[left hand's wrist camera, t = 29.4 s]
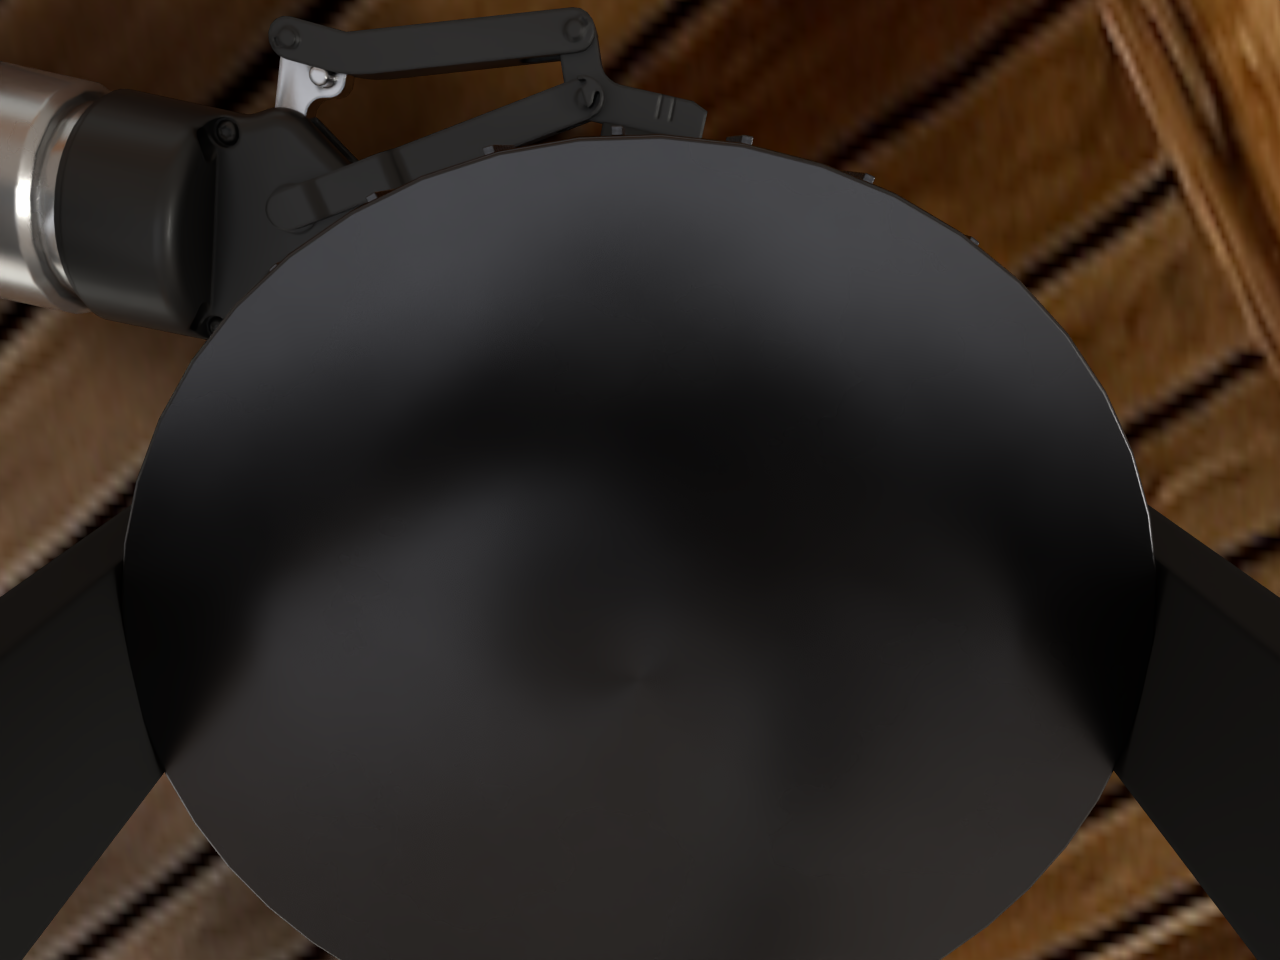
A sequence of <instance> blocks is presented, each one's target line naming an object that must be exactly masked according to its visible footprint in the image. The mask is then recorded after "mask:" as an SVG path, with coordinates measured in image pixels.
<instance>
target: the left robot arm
mask: <svg viewBox="0 0 1280 960" xmlns="http://www.w3.org/2000/svg"><path fill="white" fill-rule="evenodd" d="M1147 505H1148V504H1147ZM131 506H132V505H130V506H129V507H128V508H126V509H125V510H123V511H122V512H120V513H119V514H118V515H116V516H115V517H113V518H112V519H110V520H109V521H108V522H106V523H105V524H103V525H102V526H101V527H99V528H98V529H96V530H95V531H93V532H92V533H91V534H89V535H88V536H86V537H85V538H84V539H82V540H81V541H79V542H78V543H76V544H75V545H74V546H72V547H71V548H69V549H68V550H67V551H65V552H64V553H62V554H61V555H59V556H58V557H57V558H55V559H54V560H52V561H51V562H50V563H48V564H47V565H45V566H44V567H42V568H41V569H40V570H38V571H37V572H35V573H34V574H33V575H31V576H30V577H28V578H27V579H25V580H24V581H23V582H21V583H20V584H18V585H17V586H16V587H14V588H13V589H11V590H10V591H8V592H7V593H6V594H4V595H3V596H1V597H0V960H22V959H23V958H24V956H25V955H26V954H27V952H28V951H29V950H30V949H31V947H32V946H33V945H34V943H35V942H36V941H37V939H38V938H39V937H40V935H41V934H42V933H43V931H44V930H45V929H46V927H47V926H48V925H49V923H50V922H51V921H52V920H53V918H54V917H55V916H56V914H57V913H58V912H59V910H60V909H61V908H62V906H63V905H64V904H65V902H66V901H67V900H68V898H69V897H70V896H71V895H72V893H73V892H74V891H75V889H76V888H77V887H78V885H79V884H80V883H81V881H82V880H83V879H84V877H85V876H86V875H87V873H88V872H89V871H90V869H91V868H92V867H93V866H94V864H95V863H96V862H97V860H98V859H99V858H100V856H101V855H102V854H103V852H104V851H105V850H106V848H107V847H108V846H109V844H110V843H111V842H112V840H113V839H114V838H115V837H116V835H117V834H118V833H119V831H120V830H121V829H122V827H123V826H124V825H125V823H126V822H127V821H128V819H129V818H130V817H131V815H132V814H133V813H134V812H135V810H136V809H137V808H138V806H139V805H140V804H141V802H142V801H143V800H144V798H145V797H146V796H147V794H148V793H149V792H150V790H151V789H152V788H153V786H154V785H155V784H156V783H157V781H158V780H159V779H160V777H161V776H162V775H163V773H164V772H165V771H164V769H163V767H162V764H161V762H160V759H159V757H158V755H157V752H156V750H155V747H154V745H153V743H152V740H151V738H150V736H149V733H148V731H147V728H146V726H145V724H144V721H143V717H142V713H141V709H140V704H139V700H138V696H137V692H136V688H135V683H134V679H133V675H132V671H131V666H130V662H129V657H128V652H127V647H126V639H125V630H124V621H123V612H122V583H123V558H124V541H125V536H126V531H127V526H128V521H129V516H130V511H131ZM1148 509H1149V513H1150V519H1151V528H1152V537H1153V546H1154V555H1155V564H1156V573H1157V585H1156V610H1155V634H1154V641H1153V646H1152V651H1151V655H1150V660H1149V664H1148V669H1147V674H1146V678H1145V683H1144V687H1143V692H1142V696H1141V700H1140V704H1139V708H1138V711H1137V714H1136V717H1135V720H1134V723H1133V725H1132V728H1131V731H1130V734H1129V737H1128V740H1127V743H1126V746H1125V749H1124V751H1123V753H1122V755H1121V757H1120V759H1119V760H1118V762H1117V764H1116V766H1115V768H1114V771H1115V773H1116V774H1117V775H1118V777H1119V778H1120V779H1121V781H1122V782H1123V783H1124V785H1125V786H1126V787H1127V789H1128V790H1129V791H1130V793H1131V794H1132V795H1133V797H1134V798H1135V799H1136V800H1137V802H1138V803H1139V804H1140V806H1141V807H1142V808H1143V810H1144V811H1145V812H1146V814H1147V815H1148V816H1149V818H1150V819H1151V820H1152V822H1153V823H1154V824H1155V825H1156V827H1157V828H1158V829H1159V831H1160V832H1161V833H1162V835H1163V836H1164V837H1165V839H1166V840H1167V841H1168V843H1169V844H1170V845H1171V847H1172V848H1173V849H1174V851H1175V852H1176V853H1177V854H1178V856H1179V857H1180V858H1181V860H1182V861H1183V862H1184V864H1185V865H1186V866H1187V868H1188V869H1189V870H1190V872H1191V873H1192V874H1193V876H1194V877H1195V878H1196V880H1197V881H1198V882H1199V883H1200V885H1201V886H1202V887H1203V889H1204V890H1205V891H1206V893H1207V894H1208V895H1209V897H1210V898H1211V899H1212V901H1213V902H1214V903H1215V905H1216V906H1217V907H1218V909H1219V910H1220V911H1221V912H1222V914H1223V915H1224V916H1225V918H1226V919H1227V920H1228V922H1229V923H1230V924H1231V926H1232V927H1233V928H1234V930H1235V931H1236V932H1237V934H1238V935H1239V936H1240V938H1241V939H1242V940H1243V941H1244V943H1245V944H1246V945H1247V947H1248V948H1249V949H1250V951H1251V952H1252V953H1253V955H1254V956H1255V957H1256V959H1257V960H1280V598H1279V597H1278V596H1277V595H1275V594H1274V593H1272V592H1271V591H1269V590H1268V589H1267V588H1265V587H1264V586H1262V585H1261V584H1260V583H1258V582H1257V581H1255V580H1254V579H1252V578H1251V577H1250V576H1248V575H1247V574H1245V573H1244V572H1243V571H1241V570H1240V569H1238V568H1237V567H1235V566H1234V565H1233V564H1231V563H1230V562H1228V561H1227V560H1226V559H1224V558H1223V557H1221V556H1220V555H1218V554H1217V553H1216V552H1214V551H1213V550H1211V549H1210V548H1209V547H1207V546H1206V545H1204V544H1203V543H1201V542H1200V541H1199V540H1197V539H1196V538H1194V537H1193V536H1192V535H1190V534H1189V533H1187V532H1186V531H1184V530H1183V529H1182V528H1180V527H1179V526H1177V525H1176V524H1175V523H1173V522H1172V521H1170V520H1169V519H1167V518H1166V517H1165V516H1163V515H1162V514H1160V513H1159V512H1158V511H1156V510H1155V509H1153V508H1152V507H1150V506H1149V505H1148Z"/></svg>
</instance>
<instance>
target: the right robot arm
mask: <svg viewBox="0 0 1280 960" xmlns="http://www.w3.org/2000/svg"><path fill="white" fill-rule="evenodd" d="M268 34H269V42H270V44H271V47H272V49H273V50H274V51H275V52H276V53H277V54H278V55H279V56H280V66H279V76H278V85H277V94H276V104H275V107H274V108H270V109H267V110H265V111H262V112H259V113H255V114H242V113H237V112H233V111H228V110H223V109H219V108H214V107H209V106H205V105H200V104H196V103H191V102H186V101H182V100H177V99H172V98H168V97H163V96H159V95H154V94H149V93H145V92H140V91H135V90H131V89H119V90H115V91H112V92H111V91H110V90H109V89H107V88H106V87H104V86H103V85H102V84H100V83H98V82H93V81H89V80H84V79H80V78H75V77H71V76H66V75H61V74H57V73H52V72H48V71H43V70H39V69H34V68H30V67H25V66H20V65H16V64H11V63H7V62H2V61H0V298H2V299H7V300H12V301H17V302H21V303H26V304H31V305H36V306H41V307H45V308H50V309H55V310H60V311H64V312H69V313H74V314H80V313H88V312H93V313H95V314H96V315H98V316H99V317H102V318H104V319H107V320H111V321H116V322H121V323H126V324H131V325H136V326H141V327H146V328H151V329H157V330H161V331H166V332H171V333H176V334H181V335H186V336H191V337H196V338H201V339H207V340H208V338H209V337H210V336H211V335H212V333H213V332H214V331H215V330H216V328H217V327H218V326H219V324H220V323H221V322H222V321H223V319H224V318H225V317H226V315H227V314H228V313H229V312H230V310H231V309H232V308H233V306H234V305H235V304H236V303H237V302H238V301H239V300H240V299H241V298H242V297H243V296H244V295H246V294H247V293H248V292H249V291H250V290H251V289H252V288H253V287H254V286H255V285H256V284H257V283H258V282H259V281H260V280H261V279H263V278H264V277H265V276H266V275H267V274H268V273H269V272H270V271H269V269H270V268H271V267H272V266H273V265H274V264H275V263H278V262H281V261H282V260H283V259H284V258H285V257H286V256H287V255H288V254H289V253H291V252H292V251H294V250H295V249H296V248H298V247H299V246H301V245H302V244H304V243H305V242H307V241H308V240H309V239H311V238H312V237H314V236H315V235H317V234H318V233H320V232H321V231H322V230H324V229H325V228H327V227H328V226H330V225H331V224H333V223H334V222H335V221H337V220H338V219H340V218H341V217H343V216H344V215H346V214H347V213H349V212H350V211H351V210H353V209H355V208H358V207H360V206H362V205H364V204H366V203H368V201H367V199H366V196H368V195H370V194H372V193H373V192H379V191H385V190H391V189H396V188H398V187H400V186H402V185H404V184H406V183H408V182H410V181H412V180H414V179H416V178H418V177H420V176H423V175H426V174H429V173H432V172H435V171H438V170H441V169H444V168H447V167H450V166H453V165H456V164H459V163H463V162H466V161H469V160H472V159H475V158H478V157H481V156H484V152H483V149H482V148H483V147H486V146H489V145H515V148H517V147H523V146H527V145H530V144H533V143H535V142H538V141H541V140H543V139H546V138H548V137H551V136H554V135H556V134H559V133H562V132H564V131H567V130H570V129H572V128H575V127H577V126H580V125H583V124H585V123H588V122H591V121H593V122H597V123H602V124H603V125H602V131H601V136H612V135H611V126H619V125H622V126H623V127H624V129H625V135H648V134H666V135H675V136H684V137H693V138H702V134H703V129H704V125H705V120H706V115H707V111H706V110H704V109H703V108H702V107H700V106H699V105H698V104H696V103H695V102H693V101H689V100H685V99H681V98H676V97H672V96H667V95H662V94H658V93H654V92H650V91H645V90H641V89H636V88H632V87H627V86H623V85H619V84H617V83H614V82H613V81H611V80H610V79H609V78H608V77H607V76H606V75H605V73H604V71H603V67H602V62H601V55H600V48H599V41H598V34H597V31H596V27H595V25H594V22H593V20H592V18H591V17H590V15H589V14H588V13H587V12H586V11H584V10H582V9H581V8H574V7H571V8H562V9H553V10H544V11H534V12H525V13H516V14H507V15H498V16H489V17H480V18H470V19H461V20H452V21H443V22H434V23H425V24H415V25H406V26H397V27H388V28H379V29H370V30H360V31H351V32H344V31H341V30H337V29H334V28H330V27H326V26H323V25H319V24H316V23H312V22H308V21H305V20H301V19H298V18H294V17H289V16H282V17H279V18H277V19H275V21H274V22H273V23H272V24H271V26H270V29H269V32H268ZM556 61H561V65H562V71H563V77H564V83H563V84H560V85H558V86H555V87H553V88H550V89H547V90H545V91H542V92H540V93H537V94H534V95H532V96H529V97H527V98H524V99H522V100H519V101H516V102H514V103H511V104H509V105H506V106H503V107H501V108H498V109H496V110H493V111H490V112H488V113H485V114H483V115H480V116H477V117H475V118H472V119H470V120H467V121H465V122H462V123H459V124H457V125H454V126H452V127H449V128H446V129H444V130H441V131H439V132H436V133H433V134H431V135H428V136H426V137H423V138H421V139H418V140H415V141H413V142H410V143H408V144H405V145H402V146H400V147H397V148H394V149H391V150H387V151H384V152H381V153H378V154H375V155H372V156H370V157H367V158H365V159H362V160H360V161H358V160H357V159H356V158H355V157H354V156H353V155H352V153H351V152H350V151H349V150H348V149H347V148H346V147H345V146H344V145H343V144H342V143H341V142H340V141H339V140H338V139H337V138H336V137H335V136H334V135H333V134H332V133H331V132H330V131H329V130H328V128H327V127H326V126H325V125H324V124H323V123H322V122H321V121H320V120H319V119H318V118H316V112H317V109H318V107H319V106H320V104H321V103H323V102H324V101H326V100H329V99H342V98H344V97H346V96H347V95H349V94H350V92H351V91H352V89H353V85H354V79H355V77H357V78H362V79H373V80H384V79H398V78H407V77H416V76H426V75H435V74H444V73H453V72H463V71H472V70H481V69H491V68H500V67H509V66H519V65H528V64H537V63H547V62H556Z"/></svg>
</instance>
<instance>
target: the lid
mask: <svg viewBox="0 0 1280 960" xmlns="http://www.w3.org/2000/svg"><path fill="white" fill-rule="evenodd" d="M611 135H612V136H587V137H575V138H569V139H563V140H558V141H552V142H546V143H540V144H535V145H529V146H523V147H517V148H515V145H489V146H486V147H483V148H482V149H483V152H484V156H481V157H478V158H475V159H472V160H469V161H466V162H463V163H459V164H456V165H453V166H450V167H447V168H444V169H441V170H438V171H435V172H432V173H429V174H426V175H423V176H420V177H418V178H416V179H414V180H412V181H410V182H408V183H406V184H404V185H402V186H400V187H398V188H396V189H391V190H385V191H379V192H373V193H372V194H370V195H368V196H366V199H367V201H368V203H366V204H364V205H362V206H360V207H358V208H355V209H353V210H351V211H350V212H349V213H347V214H346V215H344V216H343V217H341V218H340V219H338V220H337V221H335V222H334V223H333V224H331V225H330V226H328V227H327V228H325V229H324V230H322V231H321V232H320V233H318V234H317V235H315V236H314V237H312V238H311V239H309V240H308V241H307V242H305V243H304V244H302V245H301V246H299V247H298V248H296V249H295V250H294V251H292V252H291V253H289V254H288V255H287V256H286V257H285V258H284V259H283V260H282V261H281V262H278V263H275V264H274V265H273V266H272V267H271V268H270V269H269V271H270V272H269V273H268V274H267V275H266V276H265V277H264V278H263V279H261V280H260V281H259V282H258V283H257V284H256V285H255V286H254V287H253V288H252V289H251V290H250V291H249V292H248V293H247V294H246V295H244V296H243V297H242V298H241V299H240V300H239V301H238V302H237V303H236V304H235V305H234V306H233V308H232V309H231V310H230V312H229V313H228V314H227V315H226V317H225V318H224V319H223V321H222V322H221V323H220V324H219V326H218V327H217V328H216V330H215V331H214V332H213V333H212V335H211V336H210V337H209V338H208V340H207V341H206V342H205V344H204V345H203V346H202V347H201V349H200V350H199V351H198V353H197V354H196V355H195V356H194V358H193V359H192V361H191V362H190V364H189V366H188V368H187V369H186V371H185V373H184V375H183V377H182V378H181V380H180V382H179V384H178V386H177V387H176V389H175V391H174V393H173V395H172V396H171V398H170V400H169V402H168V404H167V405H166V407H165V409H164V411H163V413H162V414H161V416H160V418H159V420H158V423H157V426H156V429H155V431H154V434H153V437H152V439H151V442H150V445H149V448H148V450H147V453H146V456H145V459H144V461H143V464H142V467H141V469H140V472H139V475H138V478H137V481H136V486H135V491H134V496H133V501H132V506H131V511H130V516H129V521H128V526H127V531H126V536H125V541H124V558H123V583H122V612H123V621H124V630H125V639H126V647H127V652H128V657H129V662H130V666H131V671H132V675H133V679H134V683H135V688H136V692H137V696H138V700H139V704H140V709H141V713H142V717H143V721H144V724H145V726H146V728H147V731H148V733H149V736H150V738H151V740H152V743H153V745H154V747H155V750H156V752H157V755H158V757H159V759H160V762H161V764H162V767H163V769H164V771H165V774H166V775H167V777H168V779H169V780H170V782H171V784H172V785H173V787H174V789H175V791H176V792H177V794H178V796H179V797H180V799H181V801H182V803H183V804H184V806H185V808H186V809H187V811H188V813H189V814H190V816H191V818H192V820H193V821H194V823H195V824H196V825H197V827H198V828H199V829H200V831H201V832H202V833H203V834H204V836H205V837H206V838H207V840H208V841H209V842H210V844H211V845H212V846H213V847H214V849H215V850H216V851H217V853H218V854H219V855H220V856H221V858H222V859H223V860H224V862H225V863H226V864H227V866H228V867H229V868H230V869H231V870H232V871H233V872H234V873H235V874H236V875H237V876H238V877H239V878H240V879H241V880H242V881H243V882H244V883H245V884H246V885H247V886H248V887H249V888H250V889H251V890H252V891H253V892H254V893H255V894H256V895H257V896H258V897H259V898H260V899H261V900H262V901H263V902H264V903H265V904H266V905H267V906H268V907H269V908H270V909H271V910H272V911H274V912H275V913H276V914H277V915H279V916H280V917H281V918H282V919H284V920H285V921H286V922H287V923H289V924H290V925H291V926H292V927H294V928H295V929H296V930H297V931H299V932H300V933H301V934H302V935H303V936H305V937H306V938H307V939H308V940H310V941H311V942H312V943H314V944H315V945H317V946H319V947H320V948H322V949H323V950H325V951H326V952H328V953H330V954H331V955H333V956H334V957H336V958H337V959H339V960H941V959H942V958H944V957H945V956H947V955H948V954H949V953H951V952H952V951H954V950H955V949H956V948H958V947H959V946H961V945H962V944H963V943H965V942H966V941H968V940H969V939H970V938H972V937H973V936H975V935H976V934H977V933H979V932H980V931H982V930H983V929H984V928H986V927H987V926H988V925H990V924H991V923H992V922H993V921H994V920H995V919H996V918H997V917H999V916H1000V915H1001V914H1002V913H1003V912H1004V911H1005V910H1006V909H1007V908H1009V907H1010V906H1011V905H1012V904H1013V903H1014V902H1015V901H1016V900H1017V899H1019V898H1020V897H1021V896H1022V895H1023V894H1024V893H1025V892H1026V891H1028V890H1029V889H1030V888H1031V886H1032V885H1033V884H1034V883H1035V882H1036V881H1037V880H1038V879H1039V877H1040V876H1041V875H1042V874H1043V873H1044V872H1045V871H1046V869H1047V868H1048V867H1049V866H1050V865H1051V864H1052V863H1053V861H1054V860H1055V859H1056V858H1057V857H1058V856H1059V855H1060V854H1061V852H1062V851H1063V850H1064V849H1065V848H1066V847H1067V845H1068V844H1069V842H1070V841H1071V839H1072V838H1073V837H1074V835H1075V834H1076V832H1077V831H1078V829H1079V828H1080V826H1081V825H1082V823H1083V822H1084V820H1085V819H1086V817H1087V816H1088V815H1089V813H1090V812H1091V810H1092V809H1093V807H1094V806H1095V804H1096V803H1097V801H1098V800H1099V798H1100V796H1101V794H1102V792H1103V790H1104V788H1105V786H1106V784H1107V782H1108V780H1109V778H1110V776H1111V774H1112V772H1113V770H1114V768H1115V766H1116V764H1117V762H1118V760H1119V759H1120V757H1121V755H1122V753H1123V751H1124V749H1125V746H1126V743H1127V740H1128V737H1129V734H1130V731H1131V728H1132V725H1133V723H1134V720H1135V717H1136V714H1137V711H1138V708H1139V704H1140V700H1141V696H1142V692H1143V687H1144V683H1145V678H1146V674H1147V669H1148V664H1149V660H1150V655H1151V651H1152V646H1153V641H1154V634H1155V610H1156V585H1157V573H1156V564H1155V555H1154V546H1153V537H1152V528H1151V519H1150V513H1149V509H1148V505H1147V502H1146V498H1145V494H1144V491H1143V487H1142V483H1141V480H1140V476H1139V472H1138V469H1137V465H1136V461H1135V458H1134V454H1133V451H1132V449H1131V446H1130V444H1129V442H1128V440H1127V438H1126V435H1125V433H1124V431H1123V429H1122V426H1121V424H1120V422H1119V420H1118V418H1117V415H1116V413H1115V411H1114V409H1113V406H1112V404H1111V402H1110V400H1109V398H1108V395H1107V393H1106V391H1105V389H1104V388H1103V386H1102V385H1101V383H1100V382H1099V380H1098V379H1097V377H1096V376H1095V374H1094V373H1093V371H1092V370H1091V368H1090V367H1089V365H1088V363H1087V362H1086V360H1085V359H1084V357H1083V356H1082V354H1081V353H1080V351H1079V350H1078V348H1077V347H1076V345H1075V344H1074V342H1073V341H1072V339H1071V338H1070V336H1069V334H1068V333H1067V332H1066V331H1065V330H1064V329H1063V328H1062V326H1061V325H1060V324H1059V323H1058V322H1057V321H1056V320H1055V319H1054V318H1053V316H1052V315H1051V314H1050V313H1049V312H1048V311H1047V310H1046V309H1045V308H1044V306H1043V305H1042V304H1041V303H1040V302H1039V301H1038V300H1037V299H1036V298H1035V296H1034V295H1033V294H1032V293H1031V292H1030V291H1029V290H1028V289H1027V288H1026V286H1025V285H1024V284H1023V283H1022V282H1021V281H1020V280H1019V279H1018V278H1017V277H1015V276H1014V275H1013V274H1012V273H1010V272H1009V271H1008V270H1007V269H1006V268H1004V267H1003V266H1002V265H1001V264H999V263H998V262H997V261H996V260H995V259H993V258H992V257H991V256H990V255H988V254H987V253H986V252H985V251H984V250H982V249H981V248H980V247H979V246H978V244H979V242H978V241H977V240H976V239H974V238H973V237H971V236H967V235H964V234H963V233H961V232H960V231H958V230H956V229H955V228H953V227H951V226H950V225H948V224H946V223H945V222H943V221H941V220H940V219H938V218H936V217H935V216H933V215H931V214H929V213H928V212H926V211H924V210H923V209H921V208H919V207H918V206H916V205H914V204H913V203H911V202H909V201H908V200H906V199H904V198H903V197H901V196H899V195H898V194H896V193H894V192H891V191H889V190H886V189H884V188H882V187H879V186H877V185H874V184H872V183H873V181H874V179H875V177H874V176H871V175H869V174H867V173H860V172H851V171H843V170H838V169H836V168H833V167H831V166H828V165H826V164H823V163H820V162H816V161H812V160H809V159H805V158H801V157H797V156H793V155H789V154H785V153H781V152H777V151H773V150H769V149H765V148H761V147H757V146H753V145H752V141H753V137H752V136H747V135H738V136H730V137H727V139H726V141H721V140H712V139H702V138H693V137H684V136H675V135H666V134H648V135H625V129H624V127H623V126H622V125H619V126H611Z"/></svg>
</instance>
